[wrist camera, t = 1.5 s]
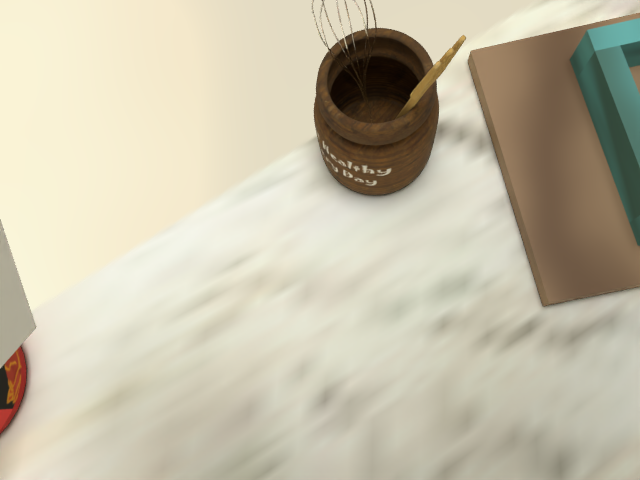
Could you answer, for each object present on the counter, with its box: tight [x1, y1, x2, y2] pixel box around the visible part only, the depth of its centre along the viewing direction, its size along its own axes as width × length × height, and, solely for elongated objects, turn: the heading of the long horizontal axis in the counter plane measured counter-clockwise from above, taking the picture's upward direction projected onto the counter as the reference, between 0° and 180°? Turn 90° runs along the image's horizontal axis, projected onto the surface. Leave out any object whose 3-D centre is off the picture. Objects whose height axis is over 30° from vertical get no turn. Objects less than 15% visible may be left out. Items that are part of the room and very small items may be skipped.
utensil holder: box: [312, 0, 466, 195], centre depth 24 cm, size 6×6×12 cm
